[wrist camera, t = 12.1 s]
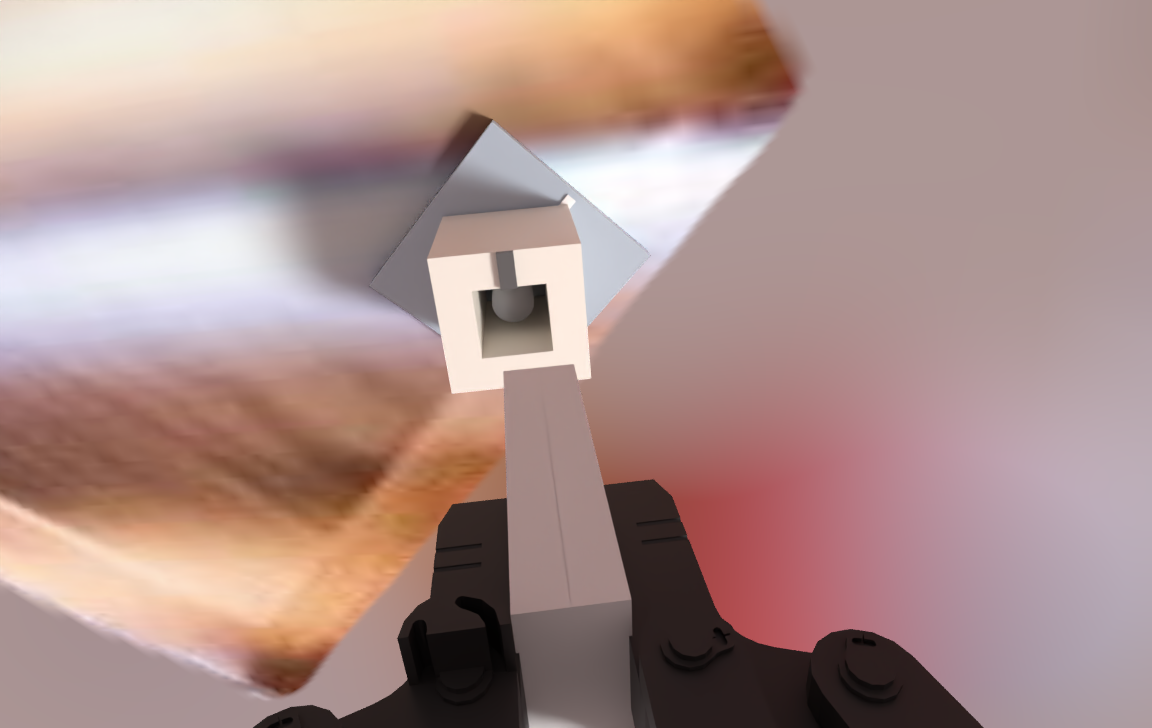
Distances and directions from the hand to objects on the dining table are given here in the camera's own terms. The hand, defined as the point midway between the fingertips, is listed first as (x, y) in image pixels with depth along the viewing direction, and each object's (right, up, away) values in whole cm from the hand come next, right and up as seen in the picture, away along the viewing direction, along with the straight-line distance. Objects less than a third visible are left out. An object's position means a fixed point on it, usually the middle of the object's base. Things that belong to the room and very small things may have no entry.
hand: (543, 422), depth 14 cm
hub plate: (-3, +7, +26) cm, 27 cm away
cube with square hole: (-3, +7, +25) cm, 26 cm away
